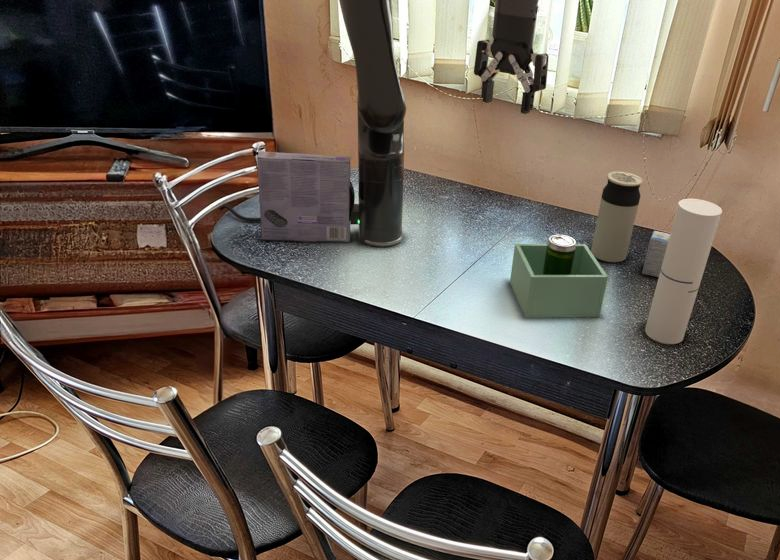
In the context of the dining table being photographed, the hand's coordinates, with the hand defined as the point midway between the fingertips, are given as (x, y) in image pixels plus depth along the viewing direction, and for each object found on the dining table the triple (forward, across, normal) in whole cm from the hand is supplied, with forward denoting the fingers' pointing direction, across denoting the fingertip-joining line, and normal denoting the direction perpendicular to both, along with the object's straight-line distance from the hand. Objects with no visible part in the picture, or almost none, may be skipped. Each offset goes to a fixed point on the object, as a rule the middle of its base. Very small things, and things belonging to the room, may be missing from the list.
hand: (506, 107), depth 126 cm
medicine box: (+32, +29, +23) cm, 49 cm away
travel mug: (+32, +16, +23) cm, 43 cm away
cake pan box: (+32, -34, -19) cm, 51 cm away
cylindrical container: (+32, +40, +1) cm, 51 cm away
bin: (+32, +18, -3) cm, 37 cm away
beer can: (+32, +18, -3) cm, 37 cm away
